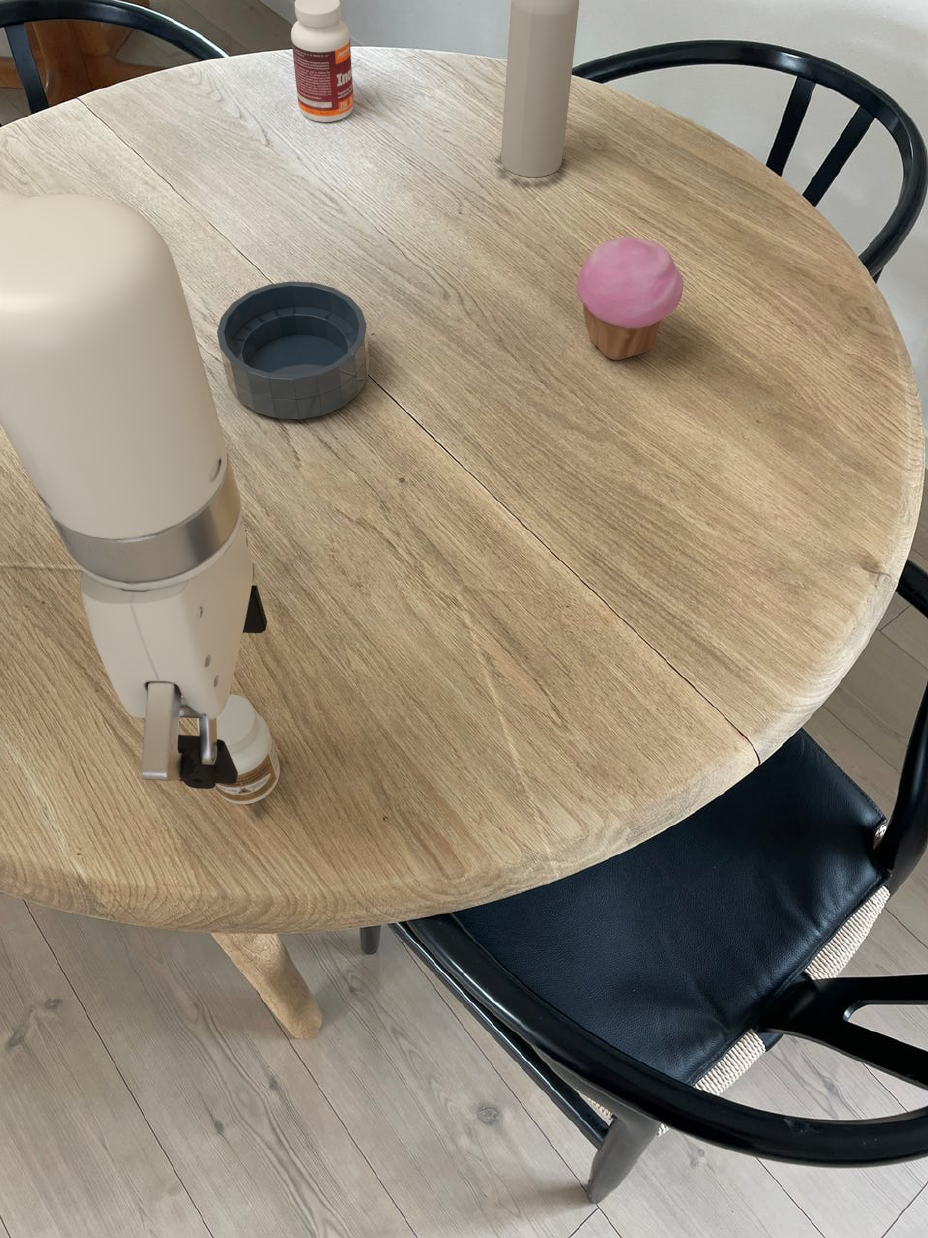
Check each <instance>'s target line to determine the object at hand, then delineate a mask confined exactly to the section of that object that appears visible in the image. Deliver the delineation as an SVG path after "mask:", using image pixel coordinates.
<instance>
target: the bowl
mask: <svg viewBox="0 0 928 1238" xmlns="http://www.w3.org/2000/svg"><path fill="white" fill-rule="evenodd" d="M216 335H217V341H218V345H219V350H220V354H221V359H222V364H223V367H224V371H225V376H226V380H227V385H228V388H229V390H230V391H231V392H232V394H233V395H234V396H235V397H236V399H237V400H238V401H239V403H241V404H243V405H244V406H245V407H247V408H249V409H250V410H252V411H253V412H255V413H257V414H260V415H261V414H262V415H264V416H268V417H270V418H274V419H285V420H287V419H288V420H303V419H304V420H305V419H309V418H315V417H320V416H324V415H328V414H329V413H331V412H334V411H336V410H339V409H341V408H343V407H344V406H345V405H347V404H348V403H349V402H351V401H352V400H353V399H354V398H356V397H357V396H358V395H359V393H360V392H361V390H362V389H363V387H364V386H365V384H366V383H367V382H368V378H369V371H370V352H369V351H370V350H369V339H368V337H369V336H368V324H367V322H366V318H365V315H364V313H363V310H362V309H361V307H360V306H359V305H358V304H357V302H355V301H354V299H352V297H351V296H349V295H347V294H346V293H344V292H342V291H341V290H338V289H336V288H334V287H332V286H328V285H325V284H321V283H317V282H314V281H313V282H312V281H310V282H309V281H295V280H293V281H291V280H290V281H283V282H277V283H270V284H266V285H264V286H261V287H257V288H256V289H255V288H254V289H253V290H251V291H248V292H247V293H245V294H244V295H242V296H241V297H239V298H238V299H235V301H233V302H232V303H231V304H230V305H229V307H228V308H227V309H226V310H225V311H224V313H223V314H222V315H221V317H220V320H219V324H218V327H217V330H216Z"/></svg>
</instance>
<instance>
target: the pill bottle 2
mask: <svg viewBox="0 0 928 1238" xmlns="http://www.w3.org/2000/svg"><path fill="white" fill-rule="evenodd" d="M341 8H342V7H341V1H340V0H295V1H294V13H295V14H294V15H295V18H296V20H297V21H295V22H294V24H293V25H292V27H291V31H290V41H291V48H292V49H291V50H292V58H293V67H294V68H293V69H294V79H295V87H296V97H297V104H298V108H299V111H300V112H301V114H302V115H303V116H304V117H306V118H307V119H310V120H312V121H314V122H321V123H329V122H331V123H332V122H336V121H340V120H343V119H345V118H347V117H348V116H350V115H351V113H352V112H353V110H354V106H355V105H354V104H355V102H354V101H355V100H354V99H355V98H354V84H353V83H354V82H353V69H352V68H353V67H352V52H351V37H350V31H349V28H348V26H347V24H346V23H345V22H344V21H343V20H341V19H342V9H341Z"/></svg>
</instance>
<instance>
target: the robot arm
mask: <svg viewBox="0 0 928 1238" xmlns="http://www.w3.org/2000/svg"><path fill="white" fill-rule="evenodd" d="M198 342H199V341H198V339H197V336H196V332H195V328H194V324H193V320H192V317H191V313H190V310H189V306H188V303H187V299H186V296H185V292H184V287H183V284H182V281H181V278H180V274H179V271H178V267H177V265H176V262H175V259H174V256H173V254H172V251H171V249H170V248H169V245H168V244H167V242H166V241H165V238H164V237H163V236H162V235H161V233H160V232H159V231H158V229H156V228H155V226H154V225H153V224H152V223H151V222H150V221H149V220H148V219H147V218H145V217H144V216H143V215H141V214H140V213H139V212H138V211H136V210H134V208H131V207H129V206H127V205H125V204H123V203H122V202H119V201H116V200H112V199H109V198H106V197H102V196H97V195H92V194H87V193H75V192H65V193H48V194H41V195H35V196H30V195H26V194H23V193H19V192H16V191H13V190H10V189H6V188H3V187H0V425H1V427H2V429H3V432H4V434H5V435H6V437H7V439H8V440H9V443H10V445H11V446H12V448H13V451H14V452H15V454H16V456H17V458H18V459H19V461H20V463H21V465H22V467H23V469H24V471H25V473H26V475H27V477H28V478H29V480H30V482H31V484H32V486H33V488H34V490H35V492H36V494H37V495H38V497H39V500H40V501H41V503H42V505H43V506H44V509H45V510H46V512H47V514H48V517H49V519H50V520H51V521H52V524H53V525H54V527H55V529H56V531H57V533H58V535H59V537H60V539H61V541H62V542H63V544H64V546H65V548H66V550H67V551H68V553H69V555H70V557H71V559H72V561H73V563H74V564H75V565H76V566H77V567H78V568H79V570H80V571H81V573H80V582H79V588H80V594H81V598H82V602H83V608H84V613H85V616H86V619H87V623H88V627H89V630H90V633H91V636H92V639H93V642H94V644H95V647H96V650H97V652H98V654H99V657H100V660H101V662H102V664H103V665H102V666H103V667H104V669H105V672H106V675H107V676H108V679H109V680H110V683H111V686H112V687H113V689H114V691H115V693H116V695H117V697H118V699H119V701H120V703H121V705H122V706H123V708H124V710H125V711H126V712H127V713H128V715H130V716H131V717H132V718H139V719H144V726H143V727H144V729H143V740H142V741H143V742H142V751H141V752H142V753H141V765H140V777H141V780H143V781H157V782H158V781H159V782H160V781H161V782H173V781H180V782H183V783H184V785H185V786H187V787H189V788H191V789H192V788H193V789H196V790H197V789H200V790H211V789H213V788H214V787H215V784H216V783H220V784H234V783H236V781H237V776H238V772H237V769H236V767H235V765H234V762H233V760H232V758H231V755H230V753H229V751H228V748H227V746H226V744H225V742H224V741H223V740H220V739H217V724H216V717H217V716H219V715H220V714H221V713H222V712H223V710H224V709H225V706H226V704H227V700H228V697H229V694H231V688H232V685H233V679H234V675H235V671H236V666H237V663H238V662H237V661H238V656H239V652H240V647H241V642H242V638H243V634H263V633H264V632H265V631H267V625H268V619H267V615H266V612H265V609H264V604H263V601H262V598H261V595H260V592H259V588H258V585H253V583H254V580H255V565H254V561H253V556H252V550H251V545H250V542H249V538H248V533H247V529H246V528H245V524H244V521H243V504H242V499H241V496H240V492H239V489H238V484H237V481H236V477H235V473H234V470H233V465H232V463H231V460H230V459H231V458H230V455H229V452H228V448H227V444H226V442H225V438H224V434H223V431H222V427H221V423H220V419H219V416H218V412H217V408H216V405H215V401H214V397H213V394H212V390H211V387H210V383H209V379H208V375H207V372H206V368H205V364H204V361H203V357H202V354H201V349H200V347H199V343H198ZM180 718H187V719H189V718H190V719H197V718H199V732H198V735H189V734H179V731H180ZM199 734H200V736H199ZM214 789H215V788H214Z"/></svg>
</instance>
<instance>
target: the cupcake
mask: <svg viewBox="0 0 928 1238" xmlns="http://www.w3.org/2000/svg"><path fill="white" fill-rule="evenodd" d="M576 281H577V282H576V293H577V296H578V299H579V301H580V302H581V304H582V309H583V312H582V313H583V317H584V318H583V319H584V322H585V326H586V329H587V331H588V337H589V341H590V343H591V344H593V345H595V346H596V347H597V348H598V349H599V351H600V352H601V354H603V355H604V356H605V357H606V358H607V359H609V360H613V361H614V360H615V361H619V360H623V359H627V358H631V357H633V356H639V355H642V354H643V353H646V352H648V351H651V349H652V348H653V347H654V345H655V342H656V338H657V335H658V332H659V330H660V327H661V325H662V322H663V320H664V319H665V318H667V317H668V316H669V315H671V314H672V313H673V312H674V311H675V310H676V309H677V308H678V306H679V304H680V302H681V299H682V297H683V291H684V290H683V289H684V279H683V276H682V274H681V272H680V270H679V269H678V268H677V266H676V264H675V262H674V259H673V257H672V255H671V253H670V252H669V251H668V250H667V249H666V248H665V247H664V246H663V245H661V244H660V243H659V242H656V241H654V240H650V239H646V238H641V237H633V236H620V237H616V238H613V239H608V240H605V241H603V242H602V243H600V244H598V245H597V246H596V247H595V248H594V249H593V250H592V251H591V252H590V254H589V256H588V257H587V258H586V260H585V261H584V263H583V264H582V266H581V268H580V270H579V273H578V276H577V280H576Z"/></svg>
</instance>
